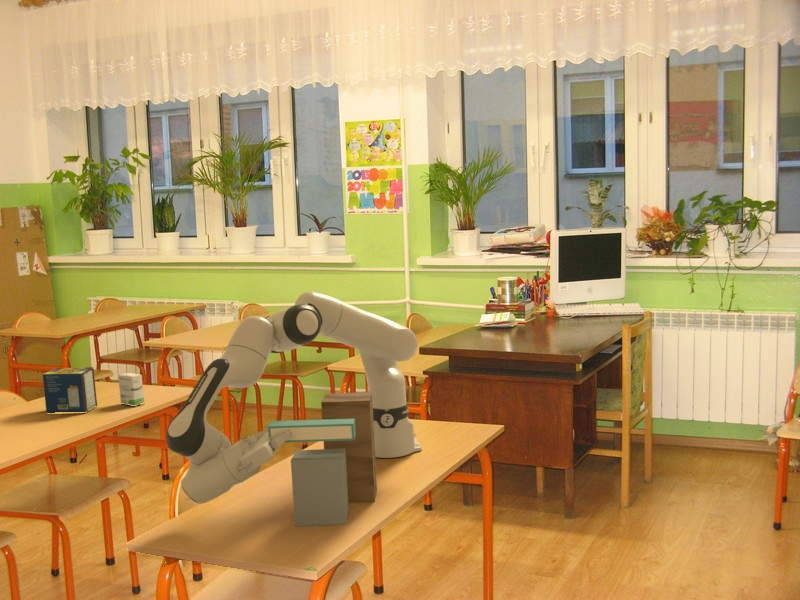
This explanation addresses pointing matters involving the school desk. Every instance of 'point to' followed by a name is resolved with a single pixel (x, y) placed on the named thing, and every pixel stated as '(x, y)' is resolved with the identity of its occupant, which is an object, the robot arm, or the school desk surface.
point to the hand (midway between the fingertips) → (292, 429)
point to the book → (314, 430)
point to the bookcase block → (355, 442)
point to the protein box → (69, 390)
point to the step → (320, 487)
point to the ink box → (131, 388)
